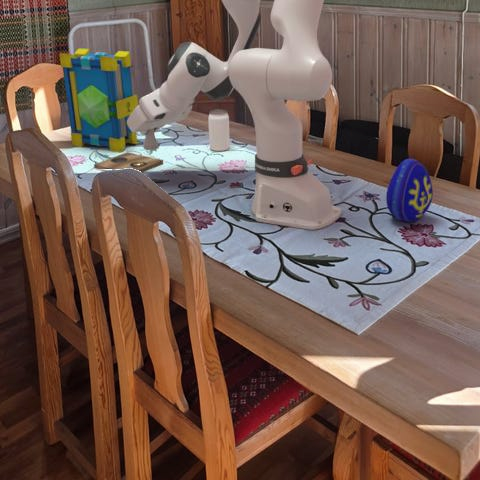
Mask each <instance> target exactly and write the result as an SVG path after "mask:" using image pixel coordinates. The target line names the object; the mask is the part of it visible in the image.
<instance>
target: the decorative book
mask: <svg viewBox="0 0 480 480" xmlns="http://www.w3.org/2000/svg"><path fill="white" fill-rule="evenodd" d="M58 53H59V55H58V56H59V61H60V62H59V63H60V67H61V68H62V72H63V81H64V88H65V93H66V94H65V95H66V103H67V104H66V105H67V109H68V110H67V112H68V118H69V124H70V125H69V126H70V138H71V146H73V147H80V148H81V147H84V146H85V144H89V145H91V146H96V147H97V146H98V147H109V152H114V153H122V152H123V151H124V149H125V148H126V144H131V145H132V144H133V145H138V136H137V135H138V134H137V133H138V132H137V133H133V132H132V131H131V130H130V128H129V127H128V125H127V120H128V118H129V116H130V115H131V113H132V112H133V110H134V109H135V108H136V107H137V106H138V105H139V99H138V94H133V87H132V75H131V67H132V63H131V62H132V61H131V53H130V51H127V50H126V51H124V50H118V51H117V52H116V53H115V54H109V53H107V52H104V51H103V52H101V51H97V52H95V53H92V52H91V53H90V48H79V47H78V49H77V50H75V52H74V53H73V54H72V53H66V52H65V53H63V52H58Z"/></svg>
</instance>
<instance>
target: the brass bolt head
mask: <svg viewBox="0 0 480 480" xmlns="http://www.w3.org/2000/svg"><path fill="white" fill-rule="evenodd" d="M133 165H134V166H141V165H143V162H135V163H133Z"/></svg>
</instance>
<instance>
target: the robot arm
mask: <svg viewBox="0 0 480 480" xmlns="http://www.w3.org/2000/svg"><path fill="white" fill-rule="evenodd" d="M221 2H222V4H223V7H224V8H225V10H226V11H227V12H228V14H229V15H230V16H231V18H232V19H233V21H234V23H235V24H236V26H237V30H238V35H237V39H236V41H235V43H234V45H233V48H232V51H231V52H230V54H229V56H228V59H227V60H226V61H223V60H221V59H219V58H217V57H216V56H214V55H213V54H212V53H210V52H208V51H207V50H206V49H205V48H203V47H202V46H200V45H199V44H197V43H195V42H193V41H186V42H182V43H180V44H179V45H178V47H177V49H176V51H175V52H174V53H173V54H172V55H171V57H170V58H169V60H168V62H167V73H168V77H167V80H165V81H164V82H163V83H162V84H161V86H160V87H158V88H156V89H155V90H154V91H152V92H150V93H149V94H147V95H144V96H142V97H141V98H139V99H138V106H137V107H136V108H135V109H134V110H133V112H132V113H131V115H130V116H129V118H128V120H127V125H128V127H129V128H130V130H131V131H132V132H133V133H140V135H141V136H146V135H147V133H148V132H149V131H148V129H152V128H154V129H155V130H154V133H157V132H159V130H161V129H163V128H164V127H165V126H166V125H171V124H173V123H177V122H180V121H183V120H185V119H186V118H187V117H188V115H189V114H190V113H191V111H192V109H193V103H195V101H196V99H195V97H196V96H197V95H198V94H199V92H202V93H203V94H205V96H207V97H208V98H210V99H211V100H213V101H220V100H226V99H227V98H228V97H229V96H230V95H231V94H232V92H233V91H234V89H235V91H237V93H239V94H240V95H241V98H243V100H244V101H245V103H246V105H247V106H248V109H249V110H250V113H251V117H252V119H253V120H252V121H253V125H254V130H255V144H256V145H255V146H256V150H255V151H256V154H255V155H254V170H255V174H256V175H255V176H256V177H255V188H254V194H253V200H252V204H251V207H250V211H251V213H252V214H253V215H254V217H255V218H254V219H255V221H256V222H259V223H267V224H271V225H277V226H278V225H279V226H286V227H291V228H298V229H303V230H304V229H305V230H309V231H310V230H312V231H314V230H318V229H322V228H325V227H328V226H329V225H331V224H333V223H334V222H336V221H337V220H338V219H340V217H341V215H342V209H341V208H340V207H338V206H335V205H333V201H332V195H331V191H330V189H329V188H328V187H327V186H326V185H325V184H324V183H323V182H321V181H320V180H319V179H318V178H317V177H316V176H315V175H314V174H313V173H312V172H310V170H309V166H310V165H312V164H313V163H312V161H313V159H312V158H311V159H309V160H306V158H305V155H304V154H303V125H302V122H301V119H300V118H298V116H297V115H295V114H294V113H293V112H292V111H291V110H290V109H289V108H288V106H287V105H286V104H287V103H286V102H285V101H286V100H287V101H293V102H299V103H300V102H311V101H312V102H313V101H320V100H322V98H324V97H325V96H326V95H327V93H328V92H329V91H330V88H331V86H332V83H333V71H332V68H331V67H332V66H331V65H330V62H329V61H328V59H327V58H326V56H324V55H323V53H322V51H321V48H320V46H319V40H318V27H319V22H320V17H321V13H322V10H323V5H324V3H325V0H273V4H272V7H271V12H270V16H269V18H270V22H271V25H272V27H273V29H274V31H276V32H277V33H278V34H279V35H280V36H282V37H283V42H282V47H281V48H280V49H276V48H275V49H273V48H264V47H263V48H262V47H254V48H253V47H252V44H253V42H254V39H255V38H256V35H257V33H258V30H259V28H260V25H261V21H262V13H261V12H260V3H261V0H221ZM251 47H252V48H251Z"/></svg>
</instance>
